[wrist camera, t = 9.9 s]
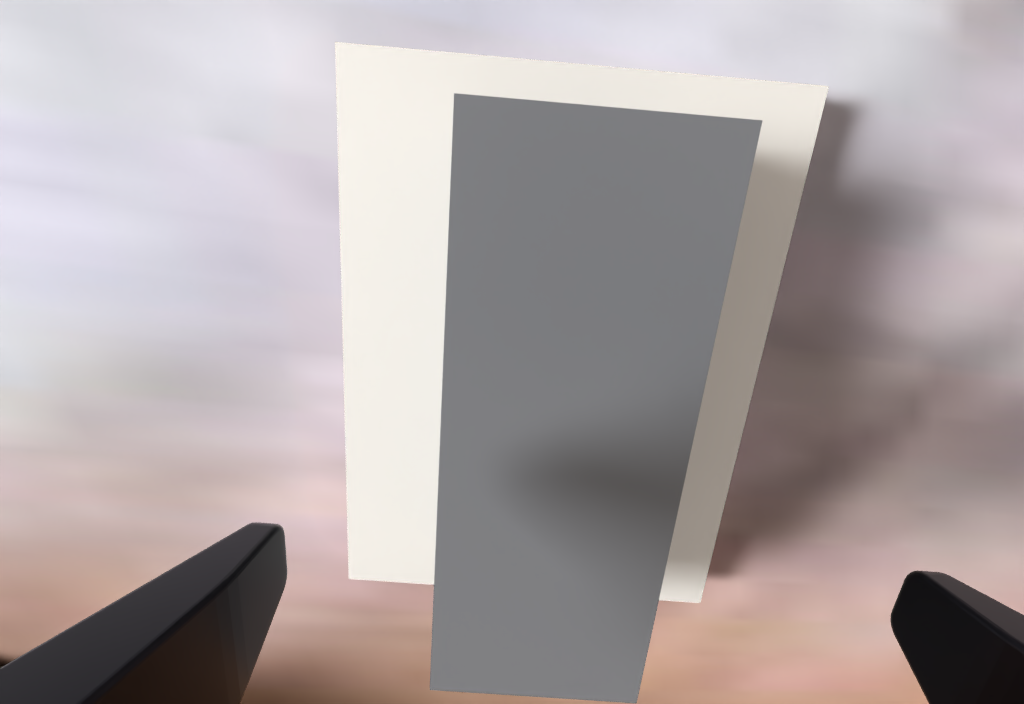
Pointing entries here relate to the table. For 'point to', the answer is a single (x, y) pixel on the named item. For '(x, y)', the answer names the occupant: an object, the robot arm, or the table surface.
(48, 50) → the table surface
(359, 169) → the plate
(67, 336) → the table surface
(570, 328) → the block
